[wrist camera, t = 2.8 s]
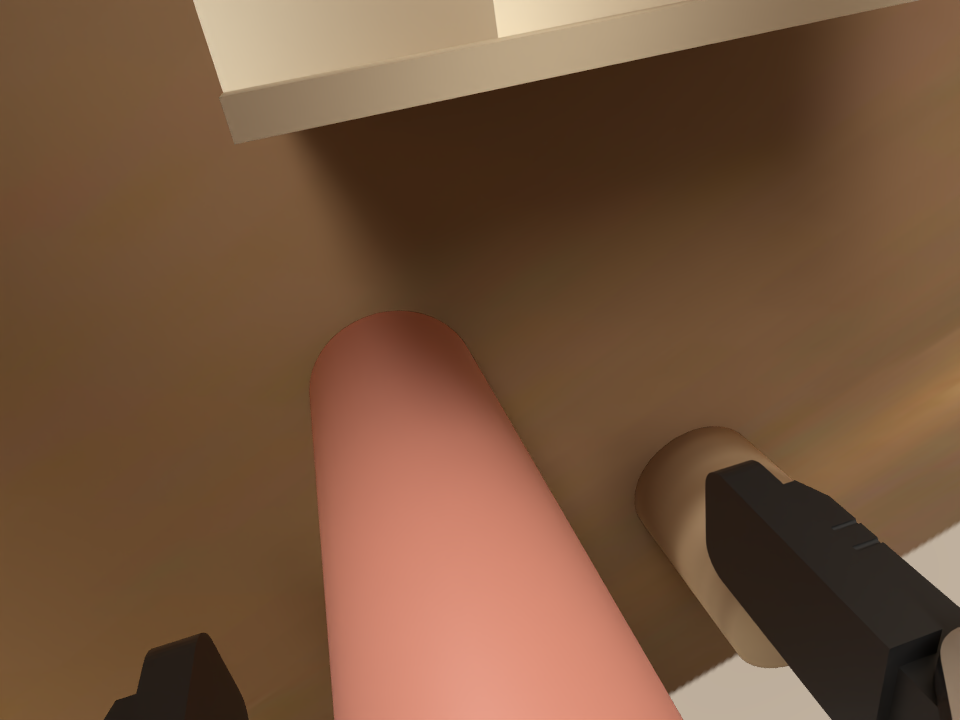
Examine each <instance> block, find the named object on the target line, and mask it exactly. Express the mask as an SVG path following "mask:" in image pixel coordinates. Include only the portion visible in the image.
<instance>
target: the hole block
mask: <svg viewBox="0 0 960 720" xmlns="http://www.w3.org/2000/svg"><path fill="white" fill-rule="evenodd" d="M913 1H917V0H193V2H194V5H195V8H196V11H197V14H198V17H199V20H200V23H201V26H202V29H203V32H204V35H205V38H206V41H207V44H208V47H209V50H210V53H211V57H212V60H213V63H214V66H215V69H216V72H217V75H218V78H219V81H220V84H221V87H222V90H223V93H222V95H221V96H220V97H219V99H220V102H221V105H222V108H223V111H224V114H225V117H226V120H227V123H228V126H229V129H230V132H231V135H232V138H233V141H234V144H239V143H244V142H248V141H253V140H258V139H263V138H267V137H272V136H277V135H282V134H286V133H291V132H296V131H301V130H305V129H310V128H315V127H320V126H324V125H329V124H334V123H339V122H343V121H348V120H353V119H358V118H362V117H367V116H372V115H377V114H381V113H386V112H391V111H396V110H400V109H405V108H410V107H415V106H419V105H424V104H429V103H433V102H438V101H443V100H448V99H452V98H457V97H462V96H467V95H471V94H476V93H481V92H486V91H490V90H495V89H500V88H505V87H509V86H514V85H519V84H524V83H528V82H533V81H538V80H543V79H547V78H552V77H557V76H562V75H566V74H571V73H576V72H581V71H585V70H590V69H595V68H600V67H604V66H609V65H614V64H619V63H623V62H628V61H633V60H637V59H642V58H647V57H652V56H656V55H661V54H666V53H671V52H675V51H680V50H685V49H690V48H694V47H699V46H704V45H709V44H713V43H718V42H723V41H728V40H732V39H737V38H742V37H747V36H751V35H756V34H761V33H766V32H770V31H775V30H780V29H785V28H789V27H794V26H799V25H804V24H808V23H813V22H818V21H823V20H827V19H832V18H837V17H842V16H846V15H851V14H856V13H860V12H865V11H870V10H875V9H879V8H884V7H889V6H894V5H898V4H903V3H908V2H913Z"/></svg>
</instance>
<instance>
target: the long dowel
mask: <svg viewBox="0 0 960 720" xmlns="http://www.w3.org/2000/svg"><path fill="white" fill-rule="evenodd" d="M309 394H310V407H311V421H312V434H313V447H314V460H315V473H316V486H317V499H318V512H319V526H320V539H321V552H322V565H323V578H324V591H325V604H326V617H327V631H328V644H329V657H330V670H331V683H332V696H333V709H334V720H683V719H682V717H681V715H680V713H679V712H678V710H677V708H676V707H675V705H674V703H673V701H672V700H671V698H670V696H669V694H668V693H667V691H666V689H665V688H664V686H663V684H662V682H661V681H660V679H659V677H658V676H657V674H656V672H655V670H654V669H653V667H652V665H651V663H650V662H649V660H648V658H647V657H646V655H645V653H644V651H643V650H642V648H641V646H640V644H639V643H638V641H637V639H636V638H635V636H634V634H633V632H632V631H631V629H630V627H629V626H628V624H627V622H626V620H625V619H624V617H623V615H622V613H621V612H620V610H619V608H618V607H617V605H616V603H615V601H614V600H613V598H612V596H611V594H610V593H609V591H608V589H607V588H606V586H605V584H604V582H603V581H602V579H601V577H600V576H599V574H598V572H597V570H596V569H595V567H594V565H593V563H592V562H591V560H590V558H589V557H588V555H587V553H586V551H585V550H584V548H583V546H582V544H581V543H580V541H579V539H578V538H577V536H576V534H575V532H574V531H573V529H572V527H571V525H570V524H569V522H568V520H567V519H566V517H565V515H564V513H563V512H562V510H561V508H560V507H559V505H558V503H557V501H556V500H555V498H554V496H553V494H552V493H551V491H550V489H549V488H548V486H547V484H546V482H545V481H544V479H543V477H542V475H541V474H540V472H539V470H538V469H537V467H536V465H535V463H534V462H533V460H532V458H531V457H530V455H529V453H528V451H527V450H526V448H525V446H524V444H523V443H522V441H521V439H520V438H519V436H518V434H517V432H516V431H515V429H514V427H513V425H512V424H511V422H510V420H509V419H508V417H507V415H506V413H505V412H504V410H503V408H502V407H501V405H500V403H499V401H498V400H497V398H496V396H495V394H494V393H493V391H492V389H491V388H490V386H489V384H488V382H487V381H486V379H485V377H484V375H483V374H482V372H481V370H480V369H479V367H478V365H477V363H476V362H475V360H474V358H473V357H472V355H471V353H470V351H469V350H468V348H467V346H466V345H465V343H464V342H463V340H462V339H461V338H460V337H459V335H458V334H457V333H456V332H455V331H453V330H452V329H451V328H450V327H449V326H447V325H446V324H444V323H443V322H441V321H439V320H437V319H435V318H433V317H431V316H428V315H424V314H421V313H416V312H411V311H387V312H382V313H377V314H373V315H370V316H367V317H364V318H362V319H360V320H357V321H355V322H353V323H352V324H350V325H348V326H347V327H345V328H344V329H342V330H341V331H340V332H339V333H337V334H336V335H335V336H334V337H333V338H332V339H331V340H330V341H329V342H328V343H327V345H326V346H325V347H324V349H323V350H322V351H321V353H320V355H319V357H318V358H317V360H316V362H315V365H314V368H313V370H312V374H311V379H310V388H309Z"/></svg>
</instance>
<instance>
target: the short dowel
mask: <svg viewBox="0 0 960 720" xmlns="http://www.w3.org/2000/svg"><path fill="white" fill-rule="evenodd" d="M748 460H755V461H757V462H759V463H761V464H762V465H763V466H764V467H765V468H766V469H767V470H769V471H770V472H771V473H772V474H773V475H774V476H775V477H776V478H777V479H778V480H780V481H781V482H782V483H783V484H785V483H788V482H791V481H793V480H792V479H791V478H790V477H789V476H787V475H786V474H785V473H784V472H783V471H782V470H781V469H779V468H778V467H777V466H776V465H775V464H774V463H773V462H772V461H770V460H769V459H768V458H767V457H766V456H765V455H764V454H763V453H761V452H760V451H759V450H758V449H757V448H756V447H755V446H754V445H752V444H751V443H750V442H749V441H748V440H747V439H746V438H745V437H743V436H742V435H741V434H739V433H738V432H736V431H734V430H732V429H729V428H725V427H704V428H699V429H695V430H692V431H690V432H687V433H685V434H683V435H681V436H679V437H677V438H675V439H674V440H672V441H671V442H669V443H668V444H667V445H665V446H664V447H663V448H662V449H661V450H659V451H658V452H657V453H656V454H655V456H654V457H653V458H652V459H651V460H650V461H649V463H648V464H647V465H646V467H645V469H644V470H643V472H642V474H641V476H640V478H639V480H638V483H637V487H636V491H635V509H636V512H637V515H638V517H639V519H640V520H641V522H642V523H643V524H644V526H645V527H646V529H647V530H648V531H649V533H650V534H651V535H652V537H653V538H654V540H655V541H656V542H657V544H658V545H659V546H660V548H661V549H662V551H663V552H664V553H665V555H666V556H667V557H668V559H669V560H670V562H671V563H672V564H673V566H674V567H675V568H676V570H677V571H678V573H679V574H680V575H681V577H682V578H683V579H684V581H685V582H686V584H687V585H688V586H689V588H690V589H691V590H692V592H693V593H694V595H695V596H696V597H697V599H698V600H699V601H700V603H701V604H702V606H703V607H704V608H705V610H706V611H707V612H708V614H709V615H710V617H711V618H712V619H713V621H714V622H715V623H716V625H717V626H718V628H719V629H720V630H721V632H722V633H723V634H724V636H725V637H726V639H727V640H728V641H729V643H730V644H731V645H732V647H733V648H734V650H735V651H736V652H737V654H738V655H739V656H740V657H741V658H742V659H743V660H744V661H746V662H747V663H749V664H751V665H753V666H757V667H763V668H778V667H785V666H789V665H788V664H787V663H786V661H785V660H784V659H783V658H782V656H781V655H780V654H779V653H778V651H777V650H776V649H775V648H774V646H773V645H772V644H771V642H770V641H769V640H768V639H767V637H766V636H765V635H764V634H763V632H762V631H761V630H760V629H759V627H758V626H757V625H756V624H755V622H754V621H753V620H752V618H751V617H750V616H749V615H748V613H747V612H746V611H745V610H744V608H743V607H742V606H741V605H740V603H739V602H738V601H737V600H736V598H735V597H734V596H733V594H732V593H731V592H730V591H729V589H728V588H727V587H726V586H725V584H724V583H723V582H722V580H721V579H720V578H719V576H718V575H717V573H716V571H715V569H714V567H713V565H712V563H711V560H710V558H709V555H708V551H707V547H706V519H705V480H706V477H707V475H708V474H709V473H711V472H714V471H717V470H720V469H723V468H726V467H730V466H733V465H736V464H739V463H742V462H745V461H748Z"/></svg>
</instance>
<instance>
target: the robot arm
mask: <svg viewBox="0 0 960 720" xmlns="http://www.w3.org/2000/svg"><path fill="white" fill-rule="evenodd" d="M705 519H706V547H707V551H708V555H709V558H710V560H711V563H712V565H713V567H714V569H715V571H716V573H717V575H718V576H719V578H720V579H721V580H722V582H723V583H724V584H725V586H726V587H727V588H728V589H729V591H730V592H731V593H732V594H733V596H734V597H735V598H736V600H737V601H738V602H739V603H740V605H741V606H742V607H743V608H744V610H745V611H746V612H747V613H748V615H749V616H750V617H751V618H752V620H753V621H754V622H755V624H756V625H757V626H758V627H759V629H760V630H761V631H762V632H763V634H764V635H765V636H766V637H767V639H768V640H769V641H770V642H771V644H772V645H773V646H774V648H775V649H776V650H777V651H778V653H779V654H780V655H781V656H782V658H783V659H784V660H785V661H786V663H787V664H788V665H789V666H790V668H791V669H792V670H793V672H794V673H795V674H796V675H797V677H798V678H799V679H800V680H801V682H802V683H803V684H804V685H805V687H806V688H807V689H808V690H809V692H810V693H811V694H812V695H813V697H814V698H815V699H816V701H817V702H818V703H819V704H820V705H821V707H822V708H823V709H824V711H825V712H826V713H827V714H828V715H829V717H830V718H831V719H832V720H960V607H958V606H957V605H956V604H955V603H953V602H952V601H951V600H950V599H949V598H948V597H947V596H945V595H944V594H943V593H942V592H941V591H940V590H938V589H937V588H936V587H935V586H934V585H933V584H931V583H930V582H929V581H928V580H927V579H926V578H924V577H923V576H922V575H921V574H920V573H918V572H917V571H916V570H915V569H914V568H913V567H912V566H910V565H909V564H908V563H907V562H906V561H905V560H903V559H902V558H901V557H900V556H899V555H897V554H896V553H895V552H894V551H893V550H892V549H890V548H889V547H888V546H887V545H886V544H885V543H880V542H879V541H878V537H876V536H875V535H874V534H873V533H872V532H871V531H869V530H868V529H867V528H866V527H865V526H864V525H862V524H861V523H860V524H858V523H857V522H856V519H855V518H854V517H853V516H852V515H851V514H850V513H848V512H847V511H846V510H845V509H844V508H843V507H841V506H840V505H839V504H838V503H837V502H835V501H834V500H833V499H832V498H831V497H830V496H828V495H826V494H824V493H821V492H819V491H817V490H815V489H813V488H811V487H808V486H806V485H804V484H802V483H800V482H798V481H795V480H794V481H791V482H788V483H785V484H783V483H782V482H781V481H780V480H778V479H777V478H776V477H775V476H774V475H773V474H772V473H771V472H770V471H769V470H767V469H766V468H765V467H764V466H763V465H762V464H761V463H759V462H757V461H755V460H748V461H745V462H742V463H739V464H736V465H733V466H730V467H726V468H723V469H720V470H717V471H714V472H711V473H709V474H708V475H707V477H706V480H705ZM104 720H248V714H247V710H246V706H245V703H244V700H243V697H242V695H241V693H240V691H239V689H238V687H237V686H236V684H235V682H234V680H233V678H232V676H231V674H230V673H229V671H228V669H227V667H226V665H225V663H224V661H223V660H222V658H221V656H220V654H219V652H218V650H217V648H216V647H215V645H214V643H213V641H212V639H211V638H210V637H209V635H208V634H206V633H200V634H197V635H194V636H191V637H188V638H184V639H181V640H178V641H175V642H172V643H169V644H166V645H163V646H159V647H156V648H153V649H151V650H150V651H149V652H148V653H147V655H146V657H145V660H144V663H143V667H142V672H141V676H140V680H139V685H138V689H137V693H136V694H135V695H132V696H129V697H126V698H123V699H119V700H116V701H115V703H114V704H113V706H112V708H111V709H110V711H109V712H108V714H107V715H106V717H105V719H104Z"/></svg>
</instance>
